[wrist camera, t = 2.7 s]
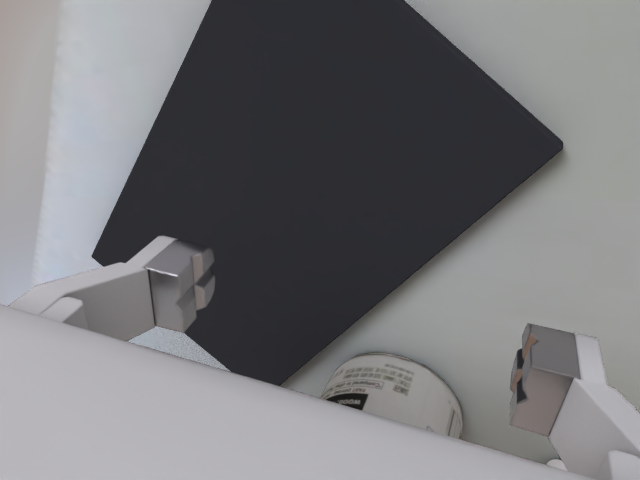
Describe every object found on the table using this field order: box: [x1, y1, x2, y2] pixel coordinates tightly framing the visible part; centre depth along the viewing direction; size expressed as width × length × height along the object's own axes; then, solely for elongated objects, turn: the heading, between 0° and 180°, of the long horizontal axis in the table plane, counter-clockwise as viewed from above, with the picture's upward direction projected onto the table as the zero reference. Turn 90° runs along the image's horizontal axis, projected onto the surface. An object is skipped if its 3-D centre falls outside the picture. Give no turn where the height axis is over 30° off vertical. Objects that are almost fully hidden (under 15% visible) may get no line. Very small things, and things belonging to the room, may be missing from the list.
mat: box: [92, 0, 563, 386], centre depth 23 cm, size 20×12×1 cm, turn 145°
